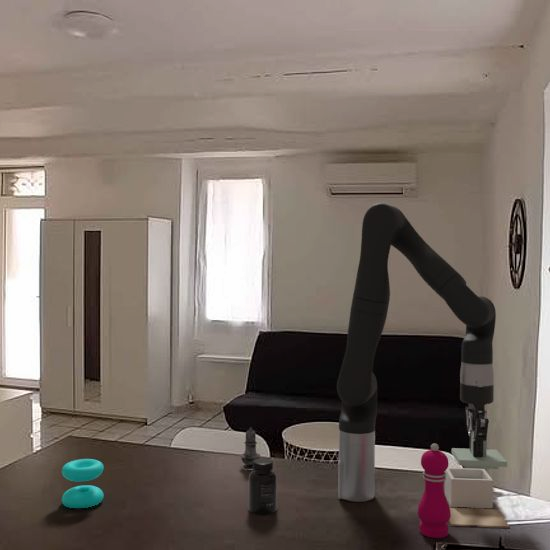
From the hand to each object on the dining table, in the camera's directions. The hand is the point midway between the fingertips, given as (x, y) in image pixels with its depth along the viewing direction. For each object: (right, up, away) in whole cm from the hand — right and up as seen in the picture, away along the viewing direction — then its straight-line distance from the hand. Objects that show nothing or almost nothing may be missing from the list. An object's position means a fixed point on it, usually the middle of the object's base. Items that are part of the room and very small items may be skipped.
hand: (476, 454), depth 154 cm
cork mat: (0, -15, 0) cm, 15 cm away
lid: (0, -2, 0) cm, 2 cm away
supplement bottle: (-50, -15, +5) cm, 53 cm away
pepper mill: (-12, -16, -8) cm, 21 cm away
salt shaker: (-55, -14, +37) cm, 68 cm away
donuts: (-95, -15, +8) cm, 97 cm away
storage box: (+1, -15, +11) cm, 19 cm away
